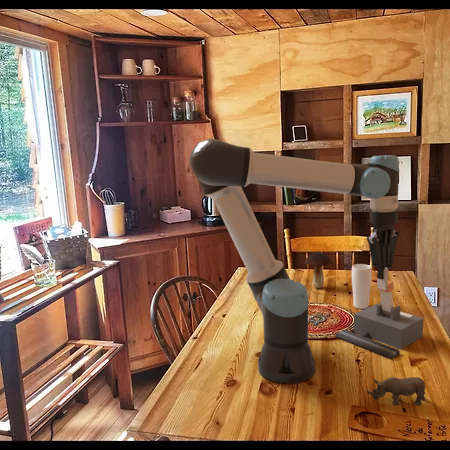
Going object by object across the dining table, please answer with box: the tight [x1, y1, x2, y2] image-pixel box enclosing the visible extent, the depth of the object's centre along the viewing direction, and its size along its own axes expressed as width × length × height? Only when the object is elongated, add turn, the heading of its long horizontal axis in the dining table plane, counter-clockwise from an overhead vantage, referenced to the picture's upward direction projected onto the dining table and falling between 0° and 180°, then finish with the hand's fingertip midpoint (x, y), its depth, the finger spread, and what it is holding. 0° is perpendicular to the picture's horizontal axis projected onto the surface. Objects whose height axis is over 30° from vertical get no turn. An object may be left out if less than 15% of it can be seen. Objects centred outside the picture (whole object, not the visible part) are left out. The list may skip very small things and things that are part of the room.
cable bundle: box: [335, 329, 401, 359], centre depth 131 cm, size 8×19×1 cm, turn 38°
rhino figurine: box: [366, 376, 426, 406], centre depth 103 cm, size 4×14×6 cm, turn 88°
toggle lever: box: [376, 280, 395, 315], centre depth 134 cm, size 2×4×11 cm, turn 37°
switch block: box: [353, 302, 424, 350], centre depth 136 cm, size 12×16×10 cm
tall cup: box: [351, 263, 373, 310], centre depth 158 cm, size 7×7×15 cm
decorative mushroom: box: [304, 251, 333, 289], centre depth 180 cm, size 11×11×15 cm
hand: (382, 288), depth 131 cm, fingers closed
